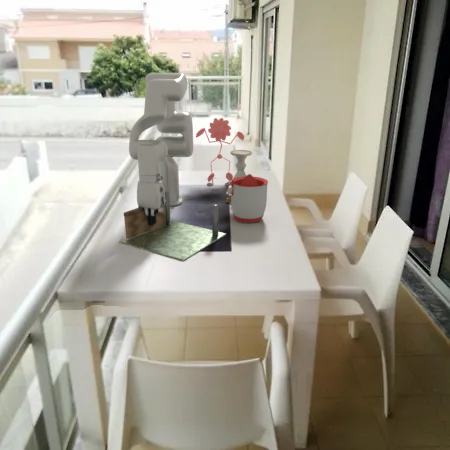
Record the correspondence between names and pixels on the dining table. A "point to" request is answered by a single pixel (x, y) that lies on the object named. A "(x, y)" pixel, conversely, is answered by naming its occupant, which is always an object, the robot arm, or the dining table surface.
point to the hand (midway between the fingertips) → (152, 224)
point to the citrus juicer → (248, 198)
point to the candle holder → (239, 165)
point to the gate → (141, 222)
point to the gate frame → (177, 236)
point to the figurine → (219, 139)
